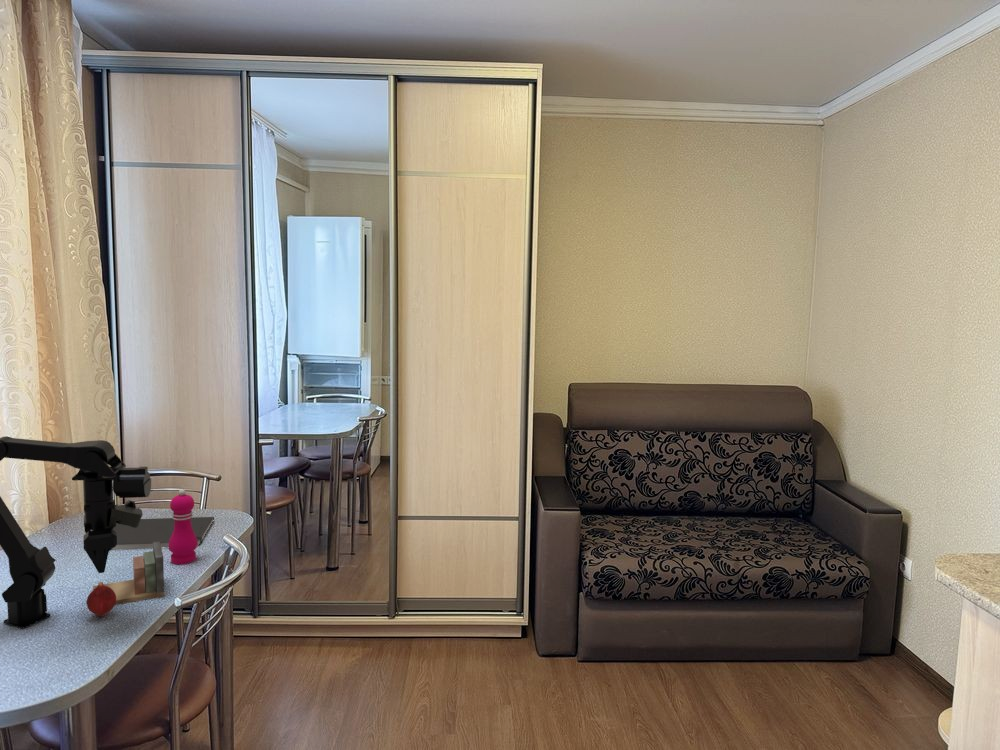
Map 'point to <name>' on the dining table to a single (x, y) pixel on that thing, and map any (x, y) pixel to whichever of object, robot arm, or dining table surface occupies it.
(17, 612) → the robot arm
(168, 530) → the notebook
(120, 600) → the book shelf
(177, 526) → the pepper mill
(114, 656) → the dining table surface
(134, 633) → the dining table surface
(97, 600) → the pomegranate
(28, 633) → the dining table surface
